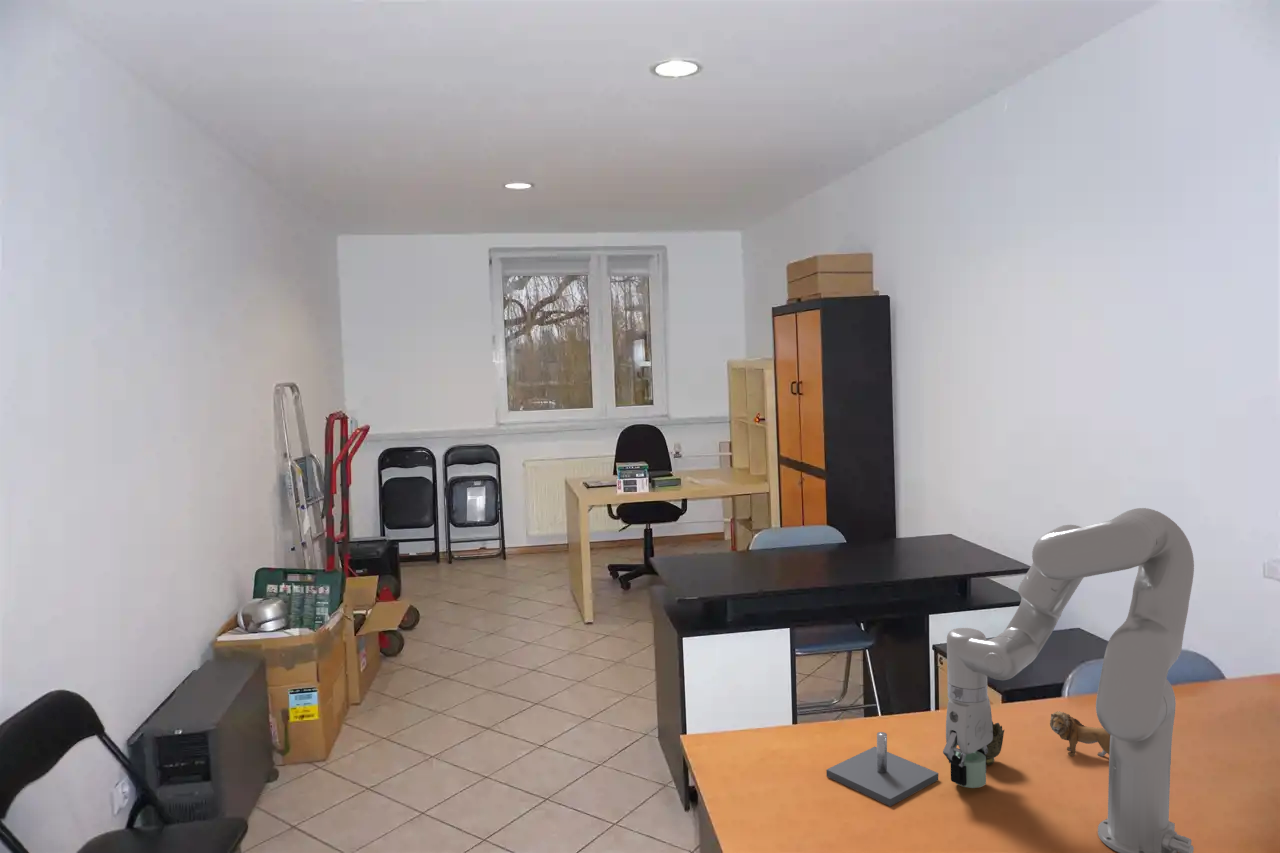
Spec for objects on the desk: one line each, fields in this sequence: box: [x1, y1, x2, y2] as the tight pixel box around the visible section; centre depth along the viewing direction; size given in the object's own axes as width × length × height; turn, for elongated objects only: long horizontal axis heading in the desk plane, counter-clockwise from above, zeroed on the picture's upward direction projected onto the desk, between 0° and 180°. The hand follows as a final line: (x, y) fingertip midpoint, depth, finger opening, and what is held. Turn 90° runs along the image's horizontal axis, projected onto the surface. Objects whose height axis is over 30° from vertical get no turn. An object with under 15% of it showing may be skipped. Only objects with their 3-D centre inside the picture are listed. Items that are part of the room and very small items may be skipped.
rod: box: [876, 731, 888, 774], centre depth 186 cm, size 2×2×8 cm
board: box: [825, 746, 939, 807], centre depth 186 cm, size 16×16×2 cm
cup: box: [985, 720, 1005, 766], centre depth 192 cm, size 8×7×8 cm
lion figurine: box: [1049, 711, 1110, 757], centre depth 193 cm, size 15×5×9 cm, turn 65°
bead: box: [955, 751, 987, 789], centre depth 182 cm, size 6×6×5 cm
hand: (968, 776), depth 182 cm, fingers closed on bead, 6 cm apart
